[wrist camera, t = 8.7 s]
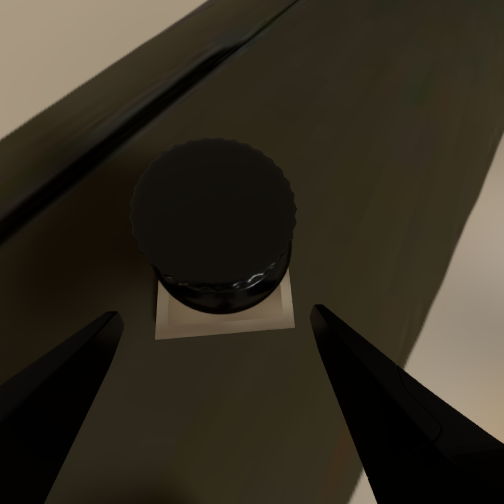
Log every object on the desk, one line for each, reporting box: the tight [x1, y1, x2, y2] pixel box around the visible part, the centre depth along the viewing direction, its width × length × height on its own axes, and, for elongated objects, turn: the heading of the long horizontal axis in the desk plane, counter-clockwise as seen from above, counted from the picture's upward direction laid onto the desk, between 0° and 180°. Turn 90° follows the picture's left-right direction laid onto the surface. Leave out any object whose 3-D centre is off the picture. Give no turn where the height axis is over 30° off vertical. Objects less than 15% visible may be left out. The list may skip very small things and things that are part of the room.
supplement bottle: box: [129, 138, 297, 315], centre depth 11 cm, size 7×7×12 cm
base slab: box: [155, 268, 295, 340], centre depth 18 cm, size 12×12×2 cm
